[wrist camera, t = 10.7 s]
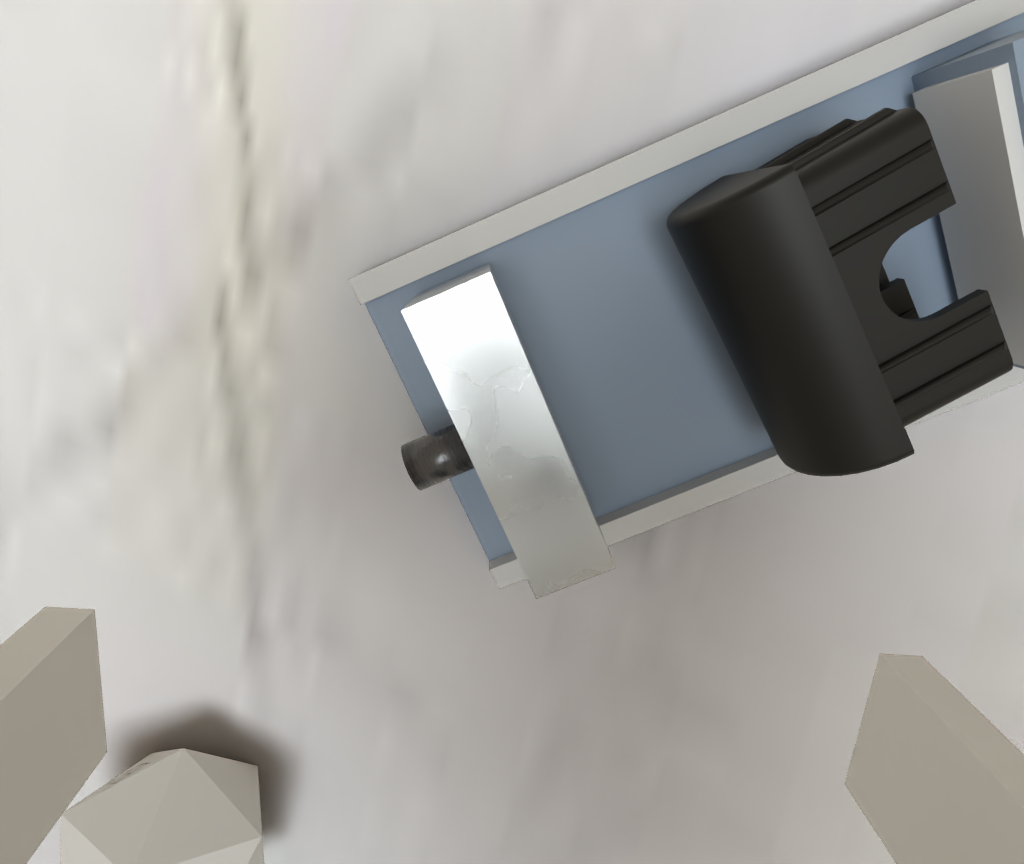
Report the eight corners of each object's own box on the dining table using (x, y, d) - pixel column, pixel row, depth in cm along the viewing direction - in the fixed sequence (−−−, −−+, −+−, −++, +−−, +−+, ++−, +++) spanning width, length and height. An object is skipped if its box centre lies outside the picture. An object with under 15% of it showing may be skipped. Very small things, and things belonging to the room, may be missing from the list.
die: (191, 667, 33) (-33, 839, 26) (323, 781, 30) (109, 1010, 23) (205, 753, 38) (20, 917, 31) (319, 858, 35) (142, 1066, 28)
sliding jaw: (594, 510, 29) (615, 568, 24) (473, 559, 29) (471, 624, 25) (489, 262, 26) (490, 271, 21) (356, 320, 26) (328, 342, 22)
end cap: (641, 220, 26) (693, 221, 19) (814, 118, 25) (928, 82, 19) (750, 439, 29) (827, 503, 22) (910, 353, 28) (1038, 393, 21)
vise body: (1065, 340, 29) (1213, 370, 23) (498, 566, 31) (501, 647, 25) (1002, -12, 25) (1160, -84, 19) (358, 275, 27) (322, 290, 21)
